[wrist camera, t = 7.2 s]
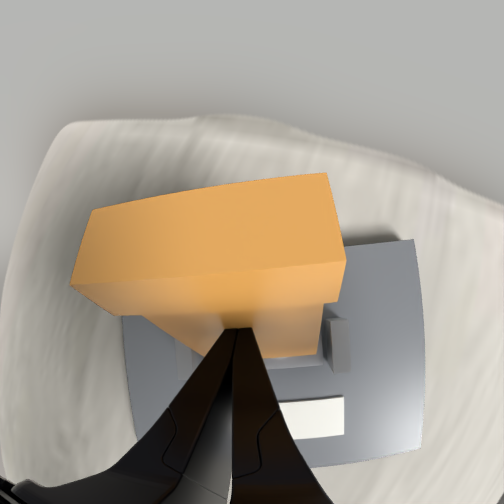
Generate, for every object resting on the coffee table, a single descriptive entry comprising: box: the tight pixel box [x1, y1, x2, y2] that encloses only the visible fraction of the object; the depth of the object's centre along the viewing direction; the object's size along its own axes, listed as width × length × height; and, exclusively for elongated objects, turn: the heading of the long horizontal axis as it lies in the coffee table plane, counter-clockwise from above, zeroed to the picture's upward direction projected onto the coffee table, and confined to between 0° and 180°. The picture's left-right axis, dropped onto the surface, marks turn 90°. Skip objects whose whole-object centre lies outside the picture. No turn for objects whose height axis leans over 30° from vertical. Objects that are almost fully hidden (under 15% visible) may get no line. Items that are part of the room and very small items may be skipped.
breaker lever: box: [70, 173, 347, 369], centre depth 10 cm, size 2×6×11 cm, turn 94°
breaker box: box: [122, 239, 425, 468], centre depth 14 cm, size 13×18×4 cm
